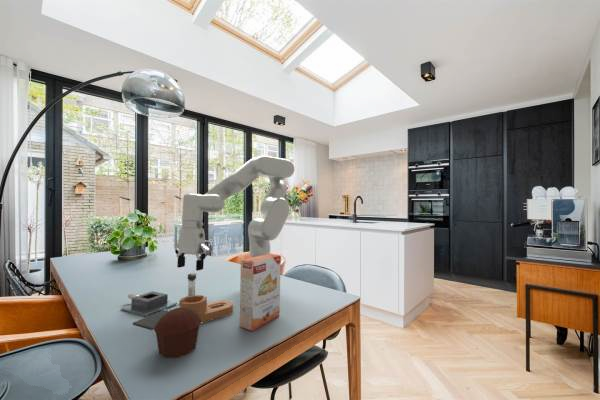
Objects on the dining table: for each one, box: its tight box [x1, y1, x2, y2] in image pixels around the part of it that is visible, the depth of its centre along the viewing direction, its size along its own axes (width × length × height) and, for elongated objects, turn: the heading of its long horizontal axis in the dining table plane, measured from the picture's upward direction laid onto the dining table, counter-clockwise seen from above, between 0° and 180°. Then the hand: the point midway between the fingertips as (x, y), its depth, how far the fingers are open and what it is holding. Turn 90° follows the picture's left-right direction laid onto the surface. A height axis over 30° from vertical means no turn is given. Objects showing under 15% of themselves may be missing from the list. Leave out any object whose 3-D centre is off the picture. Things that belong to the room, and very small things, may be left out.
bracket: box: [178, 294, 234, 323], centre depth 91 cm, size 18×8×7 cm, turn 133°
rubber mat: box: [132, 310, 170, 330], centre depth 87 cm, size 9×11×1 cm
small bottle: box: [187, 273, 197, 296], centre depth 105 cm, size 3×3×10 cm
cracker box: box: [238, 253, 282, 332], centre depth 87 cm, size 14×6×21 cm, turn 148°
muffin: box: [153, 307, 202, 359], centre depth 70 cm, size 12×11×10 cm
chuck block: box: [120, 290, 178, 317], centre depth 98 cm, size 18×12×4 cm, turn 66°
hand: (190, 268), depth 105 cm, fingers open, 9 cm apart
